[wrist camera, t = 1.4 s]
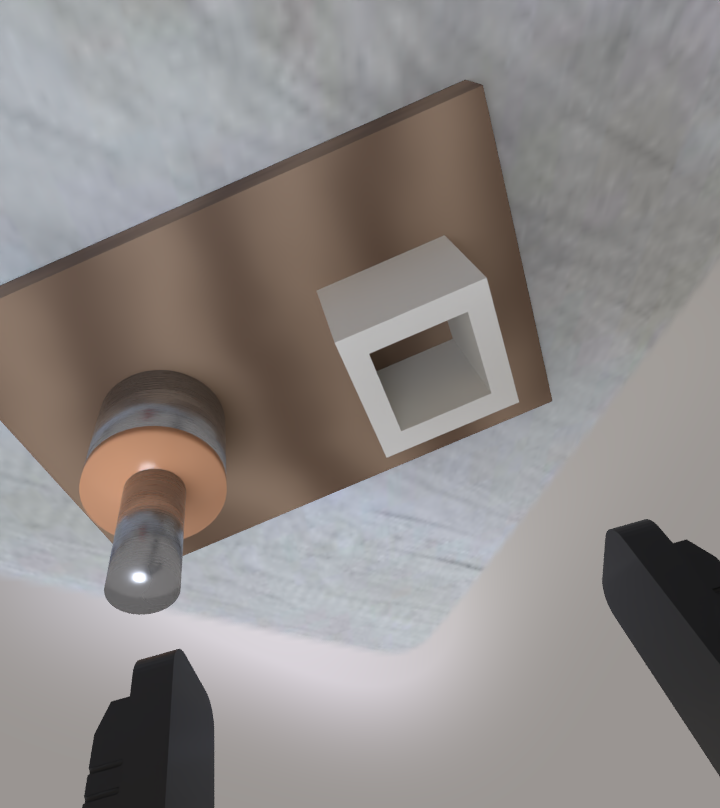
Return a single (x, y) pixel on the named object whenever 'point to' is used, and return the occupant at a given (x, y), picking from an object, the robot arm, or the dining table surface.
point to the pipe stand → (249, 338)
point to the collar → (431, 369)
